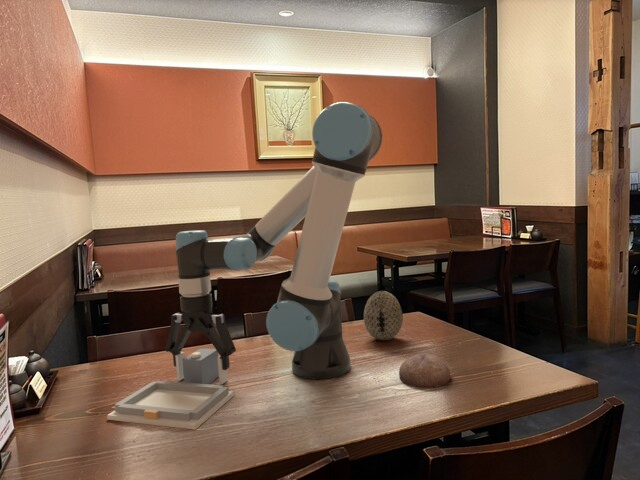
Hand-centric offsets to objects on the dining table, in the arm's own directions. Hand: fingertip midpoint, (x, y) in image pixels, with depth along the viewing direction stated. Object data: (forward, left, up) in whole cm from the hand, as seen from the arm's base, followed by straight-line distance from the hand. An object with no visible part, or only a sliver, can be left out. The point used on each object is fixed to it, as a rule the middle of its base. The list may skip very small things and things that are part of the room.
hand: (202, 380), depth 113 cm
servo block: (0, 0, 0) cm, 0 cm away
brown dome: (-53, -11, -1) cm, 54 cm away
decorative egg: (-39, -39, 0) cm, 55 cm away
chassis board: (-2, +14, 0) cm, 14 cm away
